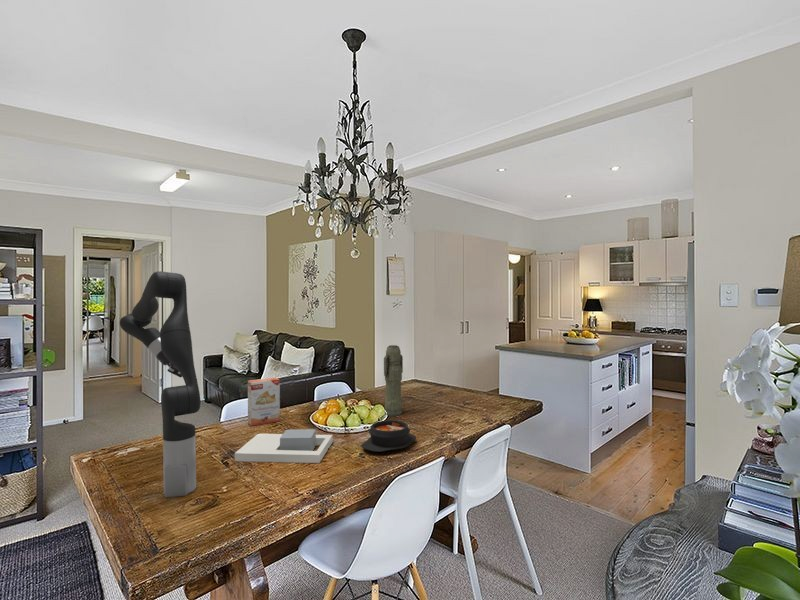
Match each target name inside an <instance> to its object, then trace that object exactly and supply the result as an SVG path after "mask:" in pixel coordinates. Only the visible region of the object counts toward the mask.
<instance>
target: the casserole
mask: <svg viewBox="0 0 800 600" xmlns="http://www.w3.org/2000/svg"><path fill="white" fill-rule="evenodd" d="M368 433H369V434H370V437H368V439H367V440H366V441H364V442H362V443H361V447H362V448H363V449H365V450H367V451H371V452H373V453H374V452H375V453H382V452H387V451H397V450H401V449H405V448H407V447H409V446H411V444H412V443H413V442H414V441H415V440H416V439H417V436H416V435H414V434H413V433H411V429H410V428H409V426H408V424H407V423H406V422H404V421H401V420H395V419H394V420H392V419H390V420H389V419H388V420H379V421H376V422H374V423H372V424H371V425H370V428H369V429H368Z"/></svg>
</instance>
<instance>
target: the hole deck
mask: <svg viewBox="0 0 800 600" xmlns="http://www.w3.org/2000/svg"><path fill="white" fill-rule="evenodd" d="M282 435H283V433H257V434H256V435H255V436H254V437H252V438H251V439H250V440H249V441H248V442H246V443H245V444H244V445H243V446H242V447H240V448H239V449H237V450H236V451H235V452H234V462H251V463H252V462H255V463H259V462H260V463H293V464H294V463H295V464H296V463H297V464H298V463H300V464H302V463H303V464H304V463H307V464H320V463H321V461H322V459H324V457H325V454H326V453H327V452H328V450H329V449H330V447H331V445H332V444H333V441H334V439H333V438H334V437H333V434H316V446H319V447H318V448H317V450H314V451H298V450H280V437H281V436H282ZM328 448H329V449H328Z"/></svg>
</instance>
